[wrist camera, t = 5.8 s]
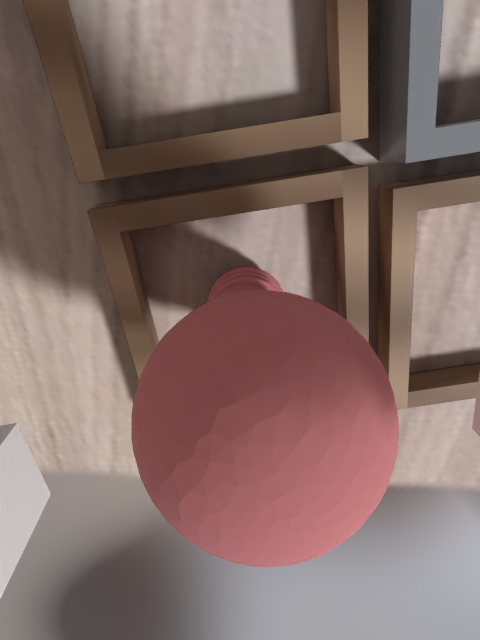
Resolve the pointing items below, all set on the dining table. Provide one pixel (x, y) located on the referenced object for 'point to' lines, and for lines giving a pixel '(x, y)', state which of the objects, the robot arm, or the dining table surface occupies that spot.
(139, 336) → the frame
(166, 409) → the light bulb
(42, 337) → the dining table surface
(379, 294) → the frame
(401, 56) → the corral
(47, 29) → the frame
